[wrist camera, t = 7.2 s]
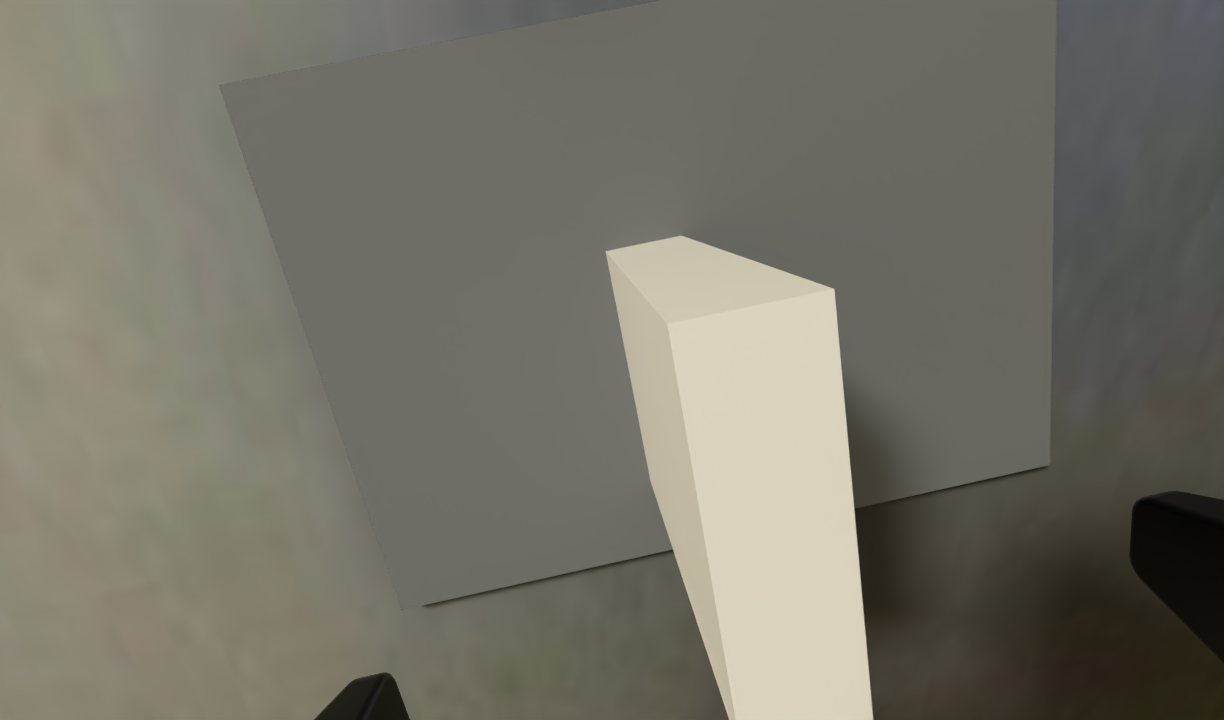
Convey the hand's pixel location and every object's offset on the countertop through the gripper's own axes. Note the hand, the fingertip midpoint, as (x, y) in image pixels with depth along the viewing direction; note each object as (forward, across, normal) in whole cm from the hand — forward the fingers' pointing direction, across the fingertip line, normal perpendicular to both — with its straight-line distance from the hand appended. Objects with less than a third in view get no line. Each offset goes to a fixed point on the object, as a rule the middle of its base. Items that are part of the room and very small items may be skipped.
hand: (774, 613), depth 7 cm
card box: (+8, 0, -1) cm, 8 cm away
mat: (+9, -1, -2) cm, 9 cm away
